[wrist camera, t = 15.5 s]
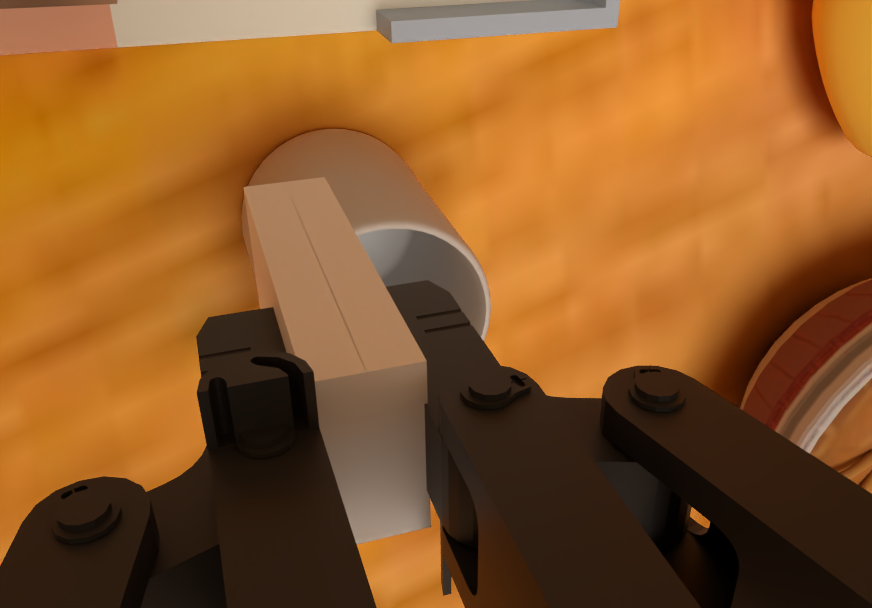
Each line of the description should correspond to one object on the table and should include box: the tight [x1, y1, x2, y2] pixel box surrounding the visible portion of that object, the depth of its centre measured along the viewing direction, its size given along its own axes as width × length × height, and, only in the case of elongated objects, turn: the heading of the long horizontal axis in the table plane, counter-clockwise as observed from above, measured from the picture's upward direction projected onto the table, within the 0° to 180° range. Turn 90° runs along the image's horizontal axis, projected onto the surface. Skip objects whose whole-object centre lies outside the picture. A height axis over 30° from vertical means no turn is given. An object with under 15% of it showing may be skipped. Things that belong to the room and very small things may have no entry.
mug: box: [241, 129, 491, 341], centre depth 36 cm, size 12×8×11 cm
